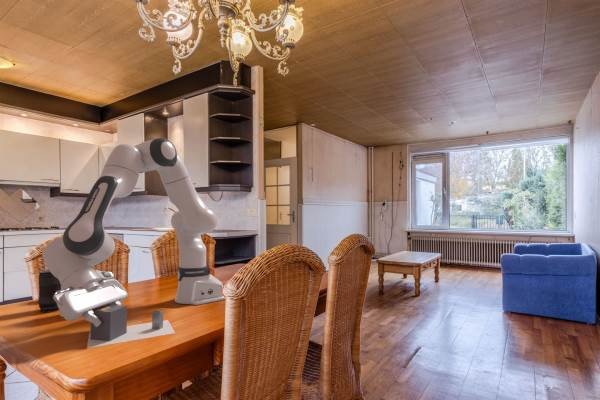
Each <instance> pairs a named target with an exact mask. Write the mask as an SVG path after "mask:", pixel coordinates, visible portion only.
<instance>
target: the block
mask: <svg viewBox="0 0 600 400" xmlns="http://www.w3.org/2000/svg"><path fill="white" fill-rule="evenodd" d="M92 311H93V312H94V313H93V314H94V315H95V316H97V317H98V318H99V317H101V318H102V320H103V321H104V322H103V323H102V325H100V326H98V327H95V325H94V324H93V323H91V322H90V332H91V333H90V339H91V340H102V341H111V340H113V339H116V338H118V337H120V336H122V335H124V334H126V333H127V326H128V305H122V304H121V305H106V306H103V307H100V308H97V309H94V310H92Z"/></svg>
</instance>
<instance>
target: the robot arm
mask: <svg viewBox="0 0 600 400" xmlns="http://www.w3.org/2000/svg"><path fill="white" fill-rule="evenodd" d="M107 157H108V158H106V159H107V160H106V161H105V164H104V166H103V169H102V171H101V173H100V175H99V178H97V180H96V181H95V183H94V184H93V186H92V188H91V189H90V190H89V193H88V195H87V197H86V200H85V201H84V203H83V205H82V207H81V209H80V211H79V212H78V215H77V216H76V217H75V218H74V219H73V220H72V222H71V223H69V224H68V226H67V227H66V228H65V230H64V232H63V235H62V237H57V238H55V239H52V240H51V241H50V242H48V244H47V245H45V247H44V248H43V250H42V256H41V257H42V259H43V262H44V263H45V266H46V267H47V270H50V272H51V273H52V274H53V275H54V276H55V277H56V278H58V279H59V281H60V284H61V286H62V287H63V290H58V291H56V293H55V294H54V297H53V298H54V300H55V301H56V302H57V306H58V308H59V312H61V314H62V315H63V317H62V318H63V319H65V320H66V321H69V322H73V321H75V320H78V319H82V318H83V319H84V321H87V322H89V323H90V324H91V323H93V324H94V325H95V327H98V326H100V325H102V323H103V322H104V321H103V320H102V318H101V317H99V318H98V317H97V316H95V315H94V314H93V313H94V312H93V311H92V310H94V309H97V308H100V307H103V306H106V305H122V304H123V302H124V301H126V299H127V298H128V296H129V295H128V292H127V289H125V287H124V286H123V285H122V284H121V282H120V281H118V280H117V279H115V278H114V277H115V275H114V274H113V272H111V271H103V270H99V269H94V268H93V267H96V266H99V264H102V263H103V262H105V261H107V260H108V259H110V258H111V257H112V256H113V255H114V253H115V251H116V246H117V245H116V242H115V240H114V239H113V237H112V236H111V235H110V234H109V233H108V232H107V231H106V230H105V228H104V219H105V217H106V214H107V212H108V210H109V208H110V206H111V204H112V202H113V200H114V199H123V198H125V197H126V198H127V197H128V196H130V195H132V193H133V191H134V190H135V188H136V186H137V183H138V181H139V176H140V174H143V173H146V172H152V171H157V173H158V175H159V178H160V180H161V182H162V185H163V188H164V189H165V192H166V195H167V198H168V199H169V202H171V204H172V205H174V206H175V207H176V208H177V211H175V212H174V213H173V215H172V216H171V219H170V224H171V227H172V229H173V230H174V232H175V235H176V238H177V243H178V252H179V253H178V255H179V257H178V258H179V262H178V264H179V266H178V268H177V280H178V284H177V290H176V294H175V299H174V302H175V303H176V304H184V305H185V304H186V305H194V306H198V305H204V304H208V303H213V302H219V301H224V300H226V299H225V297H224V296H223V294H222V289H223V287H224V285H223V282H222V281H221V280H220V279H218V278H217V277H215V276H214V275H213V274H211V273H214V271H215V268H214V267H212V266H209V265H207V246H206V245H205V243H204V242H203V239H202V235H206V234H207V235H208V234H209V233H212V232H213V231H215V229H216V228H217V226H218V225H217V224H218V217H217V215H216V213H215V212H214V211H212V210H211V209H210V208H208V206H207V205H206V204H205V203H204V201H203V200H202V198H201V197H200V196H199V194H198V193H197V190H196V188H195V186H194V183H193V181H192V179H191V178H192V177H191V176H190V174H189V171H188V168H187V167H186V165H185V163H184V161H183V159H182V158H181V156H180V155H179V154H178V152H177V148H176V147H175V145H174V144H173V142H171V140H169V139H168V138H164V137H160V138H159V137H158V138H157V137H156V138H153V139H151V140H146V141H143V142H141V143H137V144H136V145H131V144H127V143H126V144H124V143H121V144H118V145H117V146H115V147H113V149H112V150H111V152H110V153H109V156H107Z"/></svg>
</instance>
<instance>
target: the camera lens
mask: <svg viewBox="0 0 600 400" xmlns="http://www.w3.org/2000/svg"><path fill="white" fill-rule="evenodd" d="M38 274H39V275H38V308H39V309H40V310H39V311H40V312H41V313H53V312H54V313H55V312H59V311H60V310H59V308H58V306H57V302H56V301H55V300H54V298H53V297H54V294H55V293H56V291H58V290H61V284H60V281H59V279H58V278H56V277H55V276H54V275H53V274H52V273H51V272H50V270H49V269H47V270H42V271H40V272H39V273H38ZM58 310H59V311H58Z"/></svg>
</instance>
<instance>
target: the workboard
mask: <svg viewBox="0 0 600 400" xmlns="http://www.w3.org/2000/svg"><path fill="white" fill-rule="evenodd" d="M90 333H91V331H89V333H88V340H87V344H86V349H92V348H97V347H103V346H109V345H114V344H120V343H121V344H122V343H125V342H126V343H127V342H132V341H137V340H143V339H150V338H155V337H160V336H166V335H171V334H172V335H174V334H176V332H175V330H174V329H173V327H172V324H171V323H170V320H168V319H165V320H164V319H163V328H162V329H160V330H159V329H152V321H151V322H146V323H139V324H138V323H137V324H134V325H133V324H131V325H127V333H126V334H124V335H122V336H120V337H118V338H116V339H113V340H111V341H102V340H91V339H90Z"/></svg>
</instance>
